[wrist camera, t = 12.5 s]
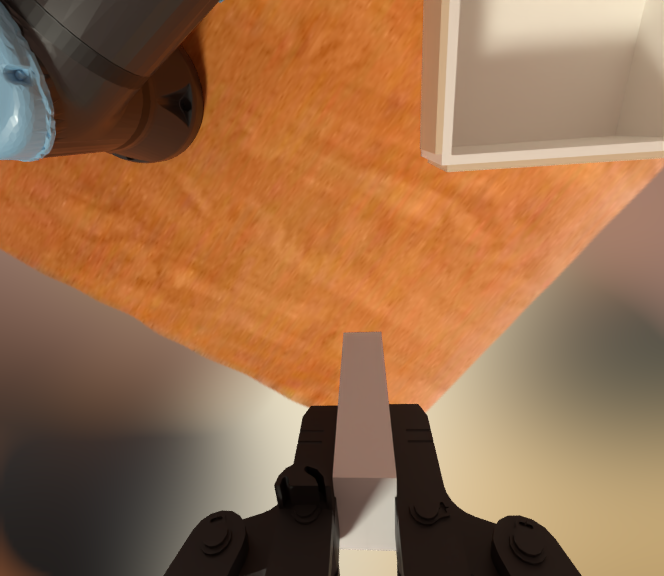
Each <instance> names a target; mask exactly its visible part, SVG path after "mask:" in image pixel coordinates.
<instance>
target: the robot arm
mask: <svg viewBox="0 0 664 576" xmlns="http://www.w3.org/2000/svg"><path fill="white" fill-rule="evenodd" d="M223 1H224V0H0V160H20V161H25V162H27V161H35V160H39V158H46V157H56V156H66V155H76V154H86V153H96V152H107V153H109V154H113V155H114V156H117V157H119V158H122V159H124V160H128V161H131V162H137V163H155V162H161V161H166V160H169V159H172V158H174V157H176V156H178V155H179V154H181V153H182V152H183V151H185V150H186V149H187V148H188V147H189V146H190V144H191V143H192V142H193V140H194V139H195V137H196V135H197V133H198V130H199V128H200V125H201V121H202V115H203V94H202V88H201V84H200V80H199V77H198V74H197V72H196V69H195V67H194V65H193V63H192V61H191V59H190V58H189V56H188V54H187V53H186V51H185V50H184V49H183V47H182V46H181V45H180V44H181V43H182V42H183V41H184V40H185V38H186V37H187V36H188V35H189V34H190V33H191V32H192V31H193V29H194V28H195V27H196V26H197V25H198V24H199V23H200V22H201V21H202V19H203V18H204V17H205V16H206V15H207V14H208V13H209V12H210V11H211V9H212V8H213V7H214V6H215V5H216V4H217V3H218V2H219V3H221V2H223ZM274 486H275V491H276V496H277V501H278V504H277V506H275V507H273V508H272V509H271V510H269V511H266V512H264V513H262V514H258V515H255V516H252V517H249V518H246V519H243V520H242V518H241V517H240V516H239V515H238V514H236V513H234V512H233V511H219V512H216V513H213V514H210V515H209V516H207V517H206V518H204V519H203V520H201V521H200V523H199V524H198V525H197V526H196V527H195V528H194V529H193V531H192V532H191V534H190V535H189V537H188V538H187V540H186V542H185V543H184V545H183V546H182V548H181V549H180V551H179V552H178V554H177V556H176V557H175V559H174V560H173V562H172V563H171V565H170V566H169V568H168V569H167V571H166V573H165V574H164V576H340V573H339V563H338V562H339V547H340V549H354V550H386V551H396V552H397V576H581V574H580V573H579V572H578V570H577V569H576V567H575V566H574V565H573V563H572V562H571V560H570V559H569V557H568V556H567V555H566V553H565V552H564V551H563V549H562V548H561V546H560V545H559V543H558V542H557V541H556V539H555V538H554V537H553V536H552V535H551V534H550V533H549V532H548V531H547V530H546V528H545V527H543V526H541V525H540V524H538V523H537V522H535V521H534V520H532V519H528V518H526V517H522V516H506V517H504V518H502V519H501V520H499V521H498V522H497V524H495V523H492V522H489V521H486V520H483V519H480V518H477V517H474V516H472V515H470V514H468V513H466V512H464V511H463V510H461V509H460V508H459V507H457V506H456V505H455V504H454V503H453V502H452V501H451V499H450V498H449V496H448V494H447V493H446V490H445V488H444V484H443V480H442V476H441V472H440V467H439V463H438V459H437V454H436V450H435V446H434V443H433V437H432V433H431V429H430V425H429V421H428V416H427V415H426V413H425V412H424V411H423V410H422V408H421V407H420V406H419V405H418V404H389V401H388V391H387V382H386V373H385V363H384V354H383V344H382V335H381V332H354V333H344V335H343V348H342V361H341V374H340V387H339V400H338V406H311V407H310V408H309V409H308V411H307V412H306V414H305V415H304V416H303V419H302V424H301V429H300V434H299V439H298V444H297V449H296V454H295V459H294V464H293V465H291V466H290V467H288V468H286V469H285V470H284V471H283V472H282V473H281V474H280V475H279V476H278V478H277V481H276V483H275V485H274Z"/></svg>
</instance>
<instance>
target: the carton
mask: <svg viewBox="0 0 664 576" xmlns="http://www.w3.org/2000/svg"><path fill="white" fill-rule="evenodd" d="M420 149H421V156H422V157H424V158H426V159H428V163H430V164H432V165H434V166H436V167H438V168H440V169H442V170H444V171H446V172H457V171H472V170H488V169H503V168H518V167H534V166H549V165H565V164H580V163H596V162H611V161H627V160H642V159H658V158H664V0H424V8H423V48H422V88H421V127H420Z"/></svg>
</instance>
